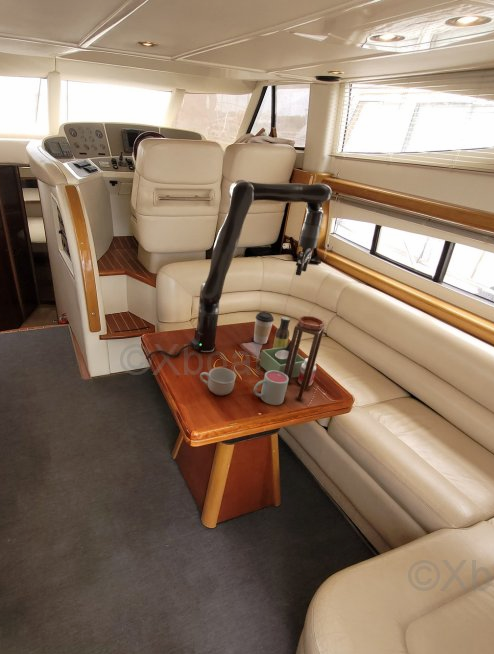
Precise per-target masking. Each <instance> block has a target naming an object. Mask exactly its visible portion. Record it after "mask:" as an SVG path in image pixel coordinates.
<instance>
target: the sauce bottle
mask: <svg viewBox="0 0 494 654" xmlns="http://www.w3.org/2000/svg"><path fill="white" fill-rule="evenodd" d="M290 322H291V318H290V317H287V316H282V317H281V318H280V325H279V327H278V328H277V329H276V331H275V335H274V341H273V345H272V349H273V348H280V347H287V346H288V345H289V339H290V330H289V326H290Z"/></svg>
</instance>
